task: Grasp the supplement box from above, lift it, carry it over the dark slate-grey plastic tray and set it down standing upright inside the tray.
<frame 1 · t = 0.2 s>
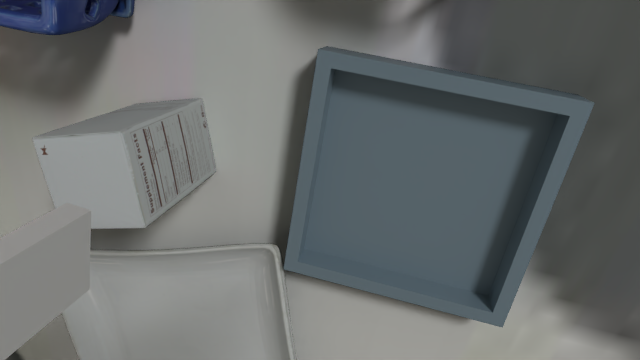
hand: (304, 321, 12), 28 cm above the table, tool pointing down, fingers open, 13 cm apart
supplement box: (178, 137, 42), on the table
square plate: (195, 335, 51), on the table
tray: (416, 182, 39), on the table
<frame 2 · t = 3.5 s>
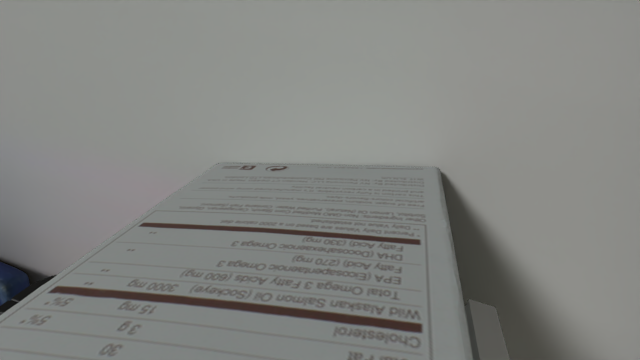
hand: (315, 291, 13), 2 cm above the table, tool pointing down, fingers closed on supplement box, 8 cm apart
supplement box: (328, 257, 15), on the table, touching gripper
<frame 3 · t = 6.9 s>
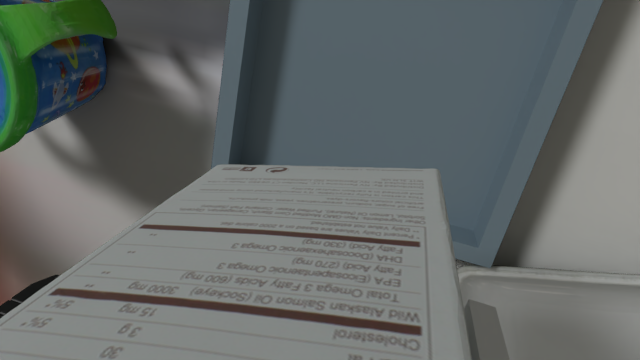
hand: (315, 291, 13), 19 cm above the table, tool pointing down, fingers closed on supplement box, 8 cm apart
supplement box: (328, 258, 15), point 17 cm above the table, touching gripper
snack cup: (70, 54, 34), on the table
tray: (384, 76, 29), on the table
when the fingers open (4 cm above the table, at t = 10.6 s): supplement box drops 1 cm, resting on tray.
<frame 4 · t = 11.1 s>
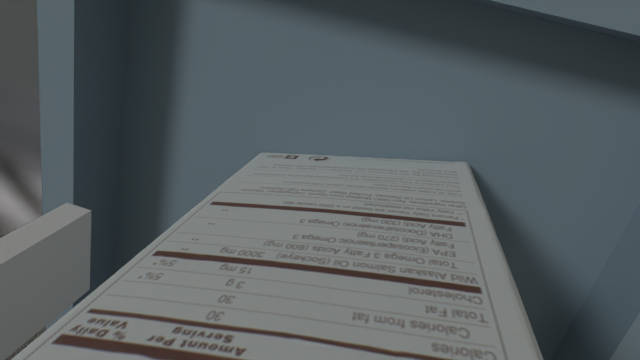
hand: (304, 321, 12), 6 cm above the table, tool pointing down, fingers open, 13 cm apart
supplement box: (358, 243, 16), point 1 cm above the table, touching tray
tray: (338, 228, 17), on the table
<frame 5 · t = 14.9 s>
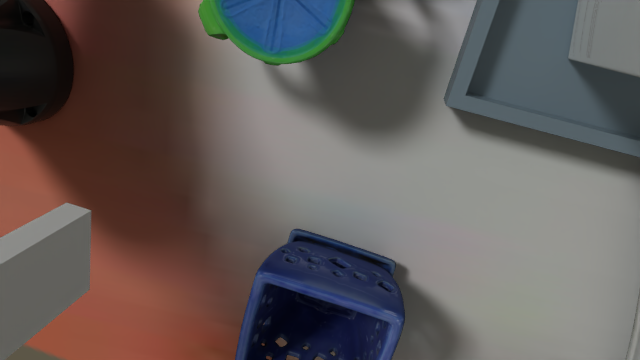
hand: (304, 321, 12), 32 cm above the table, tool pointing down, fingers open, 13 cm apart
flower pot: (334, 277, 49), on the table
supplement box: (625, 11, 34), point 1 cm above the table, touching tray
tray: (608, 9, 35), on the table
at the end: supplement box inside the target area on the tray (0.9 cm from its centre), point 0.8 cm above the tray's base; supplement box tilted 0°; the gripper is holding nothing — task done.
